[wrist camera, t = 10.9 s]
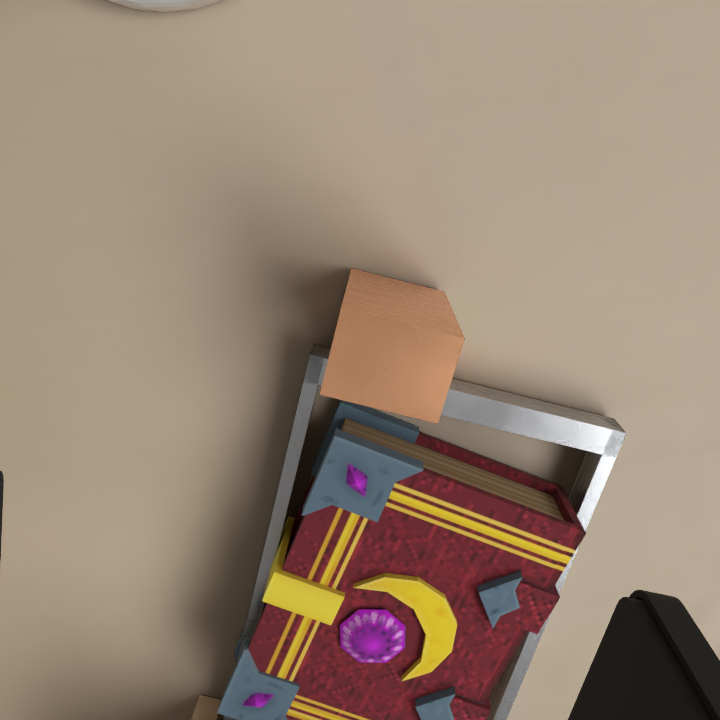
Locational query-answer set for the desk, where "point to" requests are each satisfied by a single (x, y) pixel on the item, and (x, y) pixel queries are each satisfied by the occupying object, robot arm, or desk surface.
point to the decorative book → (401, 580)
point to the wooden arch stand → (206, 708)
